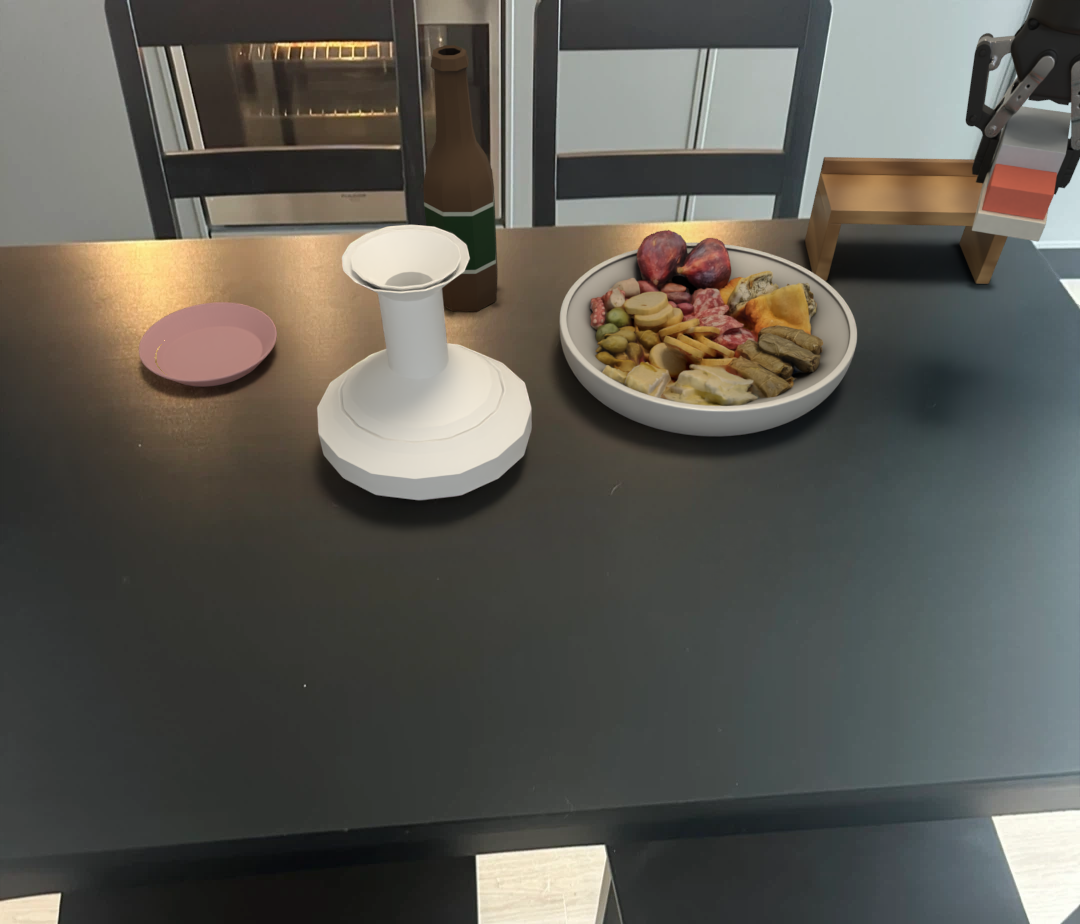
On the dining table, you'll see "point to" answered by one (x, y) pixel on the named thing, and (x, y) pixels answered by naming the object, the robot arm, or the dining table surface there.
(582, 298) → the bowl
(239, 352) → the plate
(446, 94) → the beer bottle
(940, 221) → the shoe shelf
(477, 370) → the candle holder
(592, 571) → the dining table surface
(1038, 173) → the stepped block with orange
